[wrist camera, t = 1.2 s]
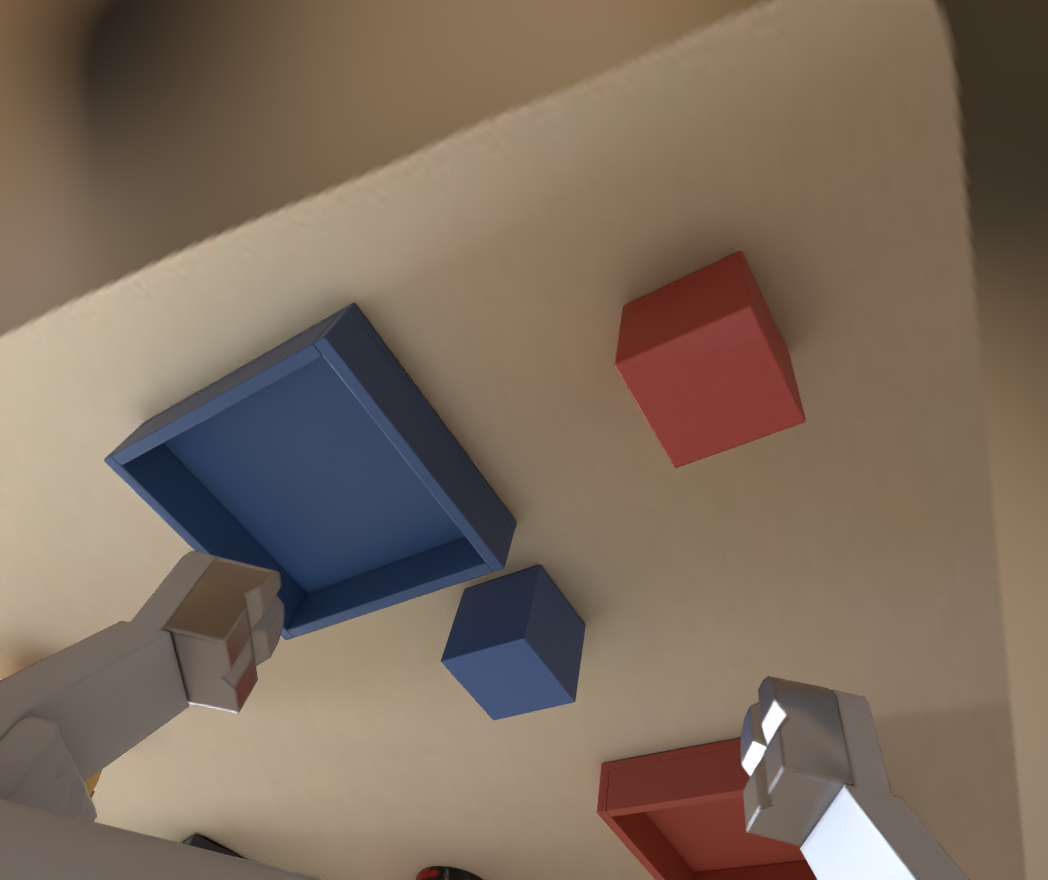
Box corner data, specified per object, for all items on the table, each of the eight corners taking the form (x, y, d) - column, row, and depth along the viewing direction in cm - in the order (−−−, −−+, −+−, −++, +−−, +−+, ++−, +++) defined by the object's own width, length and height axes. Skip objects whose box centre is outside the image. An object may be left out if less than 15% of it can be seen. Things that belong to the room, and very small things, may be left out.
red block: (741, 249, 25) (751, 304, 21) (790, 355, 27) (807, 422, 23) (622, 305, 27) (613, 364, 23) (675, 400, 29) (674, 469, 25)
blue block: (540, 564, 35) (524, 638, 31) (585, 625, 37) (575, 702, 33) (463, 589, 37) (440, 661, 33) (511, 646, 39) (493, 720, 35)
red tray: (829, 721, 38) (839, 775, 35) (902, 846, 43) (915, 901, 40) (601, 763, 43) (596, 813, 41) (689, 869, 48) (689, 919, 46)
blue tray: (354, 302, 29) (324, 336, 26) (517, 522, 34) (504, 568, 31) (143, 422, 34) (102, 460, 32) (310, 596, 39) (285, 641, 37)
